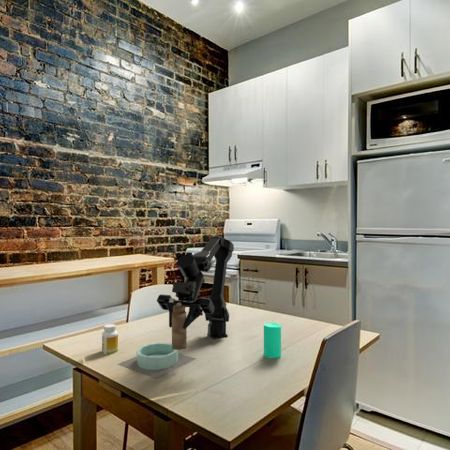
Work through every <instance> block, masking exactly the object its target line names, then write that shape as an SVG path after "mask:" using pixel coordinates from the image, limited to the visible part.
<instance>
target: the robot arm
mask: <svg viewBox="0 0 450 450" xmlns="http://www.w3.org/2000/svg"><path fill="white" fill-rule="evenodd" d="M234 249H235V247H234V243H233V242H232V241H231V240H228V239H227V238H224V237H223V236H220V235H219V236H218V235H217V236H216V235H215V236H214V235H213V236H210V238H209V241H208V242H207V243H206V244H205V245H204V247H203V248H202V249H201V251H199V252H196V253H193V252H191V251H190V252H189V251H187V252H186V253H185V254H183V255H181V256H180V257H179V258H178V259H177V261H176V264H177V266H178V269H179V270H180V272H181V274H182V277H184V278H185V280H184V281H183V282H181V281H174V282H173V285H172V290H171V292H172V293H175V297H176V298H177V299H175V298H173V296H171V294H163V293H162V294H159V295H158V297H157V299H156V302H157V303H158V305H159V307H160V308H161V310H164V311H168V327H169V328H171V329H172V312H173V306H174V305H177V303H178V302H180V303H181V304H182V305H185V308H188V312H187V314H186V320H185V323H184V326H183V328H184V329H186V328H188V327H189V326H190V325H192V323H193V322H195V321H196V319H198V318H199V317H200V316H203V315H204V317H205V321H206V322H207V321H208V324H207V335H208V337H211V339H218V338H219V339H220V338H225V337H228V336H229V335H228V334H227V322H230V312H229V310H228V308H227V303H226V300H225V297H224V292H225V285H226V275H227V268H228V267H227V266H228V262H229V261H230V259H231V258H232V257H233V256H232V255H233V252H234ZM213 258H214V259H215V265H214V266H215V267H214V274H213V281H212V289H211V295H210V296H209V297H200V296H201V293H200V291H201V290H200V289H201V287H202V284H203V283H205V276H204V274H203V273H209V271H210V269H211V268H212V265H213V262H212V259H213ZM197 298H198V299H197Z"/></svg>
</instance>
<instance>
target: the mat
mask: <svg viewBox="0 0 450 450" xmlns="http://www.w3.org/2000/svg"><path fill="white" fill-rule="evenodd" d="M196 359H197V358H196V357H192V356H188V355H185V354H181V353H179V352H178V361H177V363H176V364H175V365H173V366H171V367H169V368H165V369H160V370H146V369H143V368H141V367H139V366H138V365H137V355H136V356H134V357H132V358H129V359H126V360H124V361H122V362H120V363H117V366H121V367H124V368H127V369H129V370H132V371H135V372H136V373H137V372H138V373H140V374H144V375H146V376H149V377H151V378H154V379H160V378H161V377H163V376H165V375H167V374H169V373H171V372H173V371H175V370H177V369H179V368H181V367H183V366H184V365H187V364H189V363H191V362H193V361H195V360H196Z"/></svg>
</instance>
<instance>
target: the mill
mask: <svg viewBox="0 0 450 450" xmlns="http://www.w3.org/2000/svg"><path fill="white" fill-rule="evenodd" d="M186 317H187V311H186V307H185V305H182V304H181V303H180V302H178V303H177V305H174V306H173V312H172V327H171V344H172V349H174V350H178V351H183V350H186V348H187V346H188V345H187V344H188V343H187V340H188V337H187V333H188V332H187V328H188V327H187V328H186V329H184V328H183V326H184V323H185V320H186Z"/></svg>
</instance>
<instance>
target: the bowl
mask: <svg viewBox="0 0 450 450" xmlns="http://www.w3.org/2000/svg"><path fill="white" fill-rule="evenodd" d="M178 353H179V350H174V349H172V343H169V342H155V343H154V342H153V343H147V344H145V345H142V346H140V347H139V348H138V349H137V350H136V356H137V365H138V366H139V367H141V368H143V369H146V370H160V369H165V368H169V367H171V366H173V365H175V364H176V363H177V361H178Z"/></svg>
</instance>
